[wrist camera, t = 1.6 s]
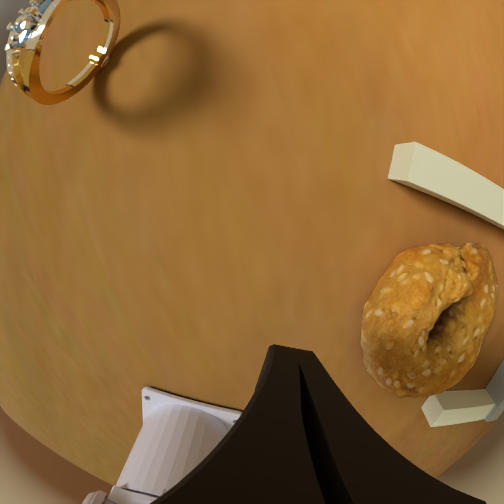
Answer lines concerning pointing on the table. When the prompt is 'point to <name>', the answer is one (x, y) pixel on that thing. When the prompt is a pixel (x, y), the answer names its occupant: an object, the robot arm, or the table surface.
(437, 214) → the table surface
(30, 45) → the ring
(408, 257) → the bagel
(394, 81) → the table surface
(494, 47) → the table surface
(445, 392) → the guide
